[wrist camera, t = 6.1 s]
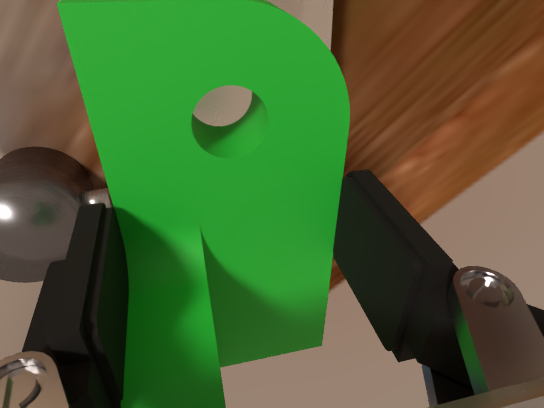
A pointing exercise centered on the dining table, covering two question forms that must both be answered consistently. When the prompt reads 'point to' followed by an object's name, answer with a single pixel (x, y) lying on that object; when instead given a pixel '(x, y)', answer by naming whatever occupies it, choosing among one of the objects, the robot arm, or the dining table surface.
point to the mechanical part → (213, 182)
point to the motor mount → (76, 182)
